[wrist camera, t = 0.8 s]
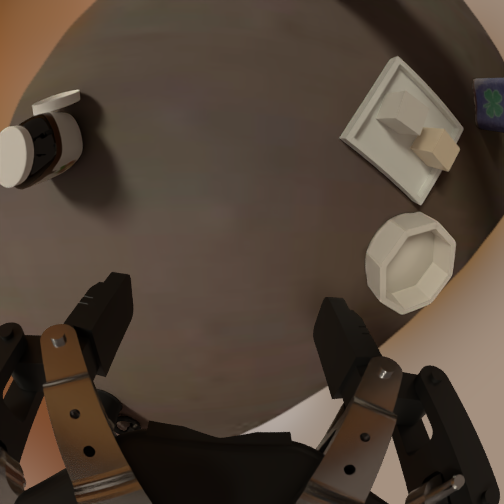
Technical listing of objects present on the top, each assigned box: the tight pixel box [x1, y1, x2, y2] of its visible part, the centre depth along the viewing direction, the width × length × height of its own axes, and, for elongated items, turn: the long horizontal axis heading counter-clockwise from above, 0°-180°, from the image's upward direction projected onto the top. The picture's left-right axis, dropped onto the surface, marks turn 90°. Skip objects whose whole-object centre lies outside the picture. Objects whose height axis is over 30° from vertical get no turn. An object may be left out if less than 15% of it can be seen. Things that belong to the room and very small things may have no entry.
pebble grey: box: [376, 90, 429, 136], centre depth 27 cm, size 4×4×5 cm
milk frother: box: [96, 389, 141, 434], centre depth 46 cm, size 14×16×15 cm
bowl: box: [365, 212, 456, 315], centre depth 36 cm, size 14×14×5 cm
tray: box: [340, 56, 464, 205], centre depth 30 cm, size 15×15×2 cm
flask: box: [472, 78, 504, 133], centre depth 23 cm, size 9×3×11 cm, turn 5°
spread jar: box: [0, 90, 83, 189], centre depth 23 cm, size 12×11×12 cm
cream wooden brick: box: [411, 127, 460, 172], centre depth 28 cm, size 4×4×5 cm
